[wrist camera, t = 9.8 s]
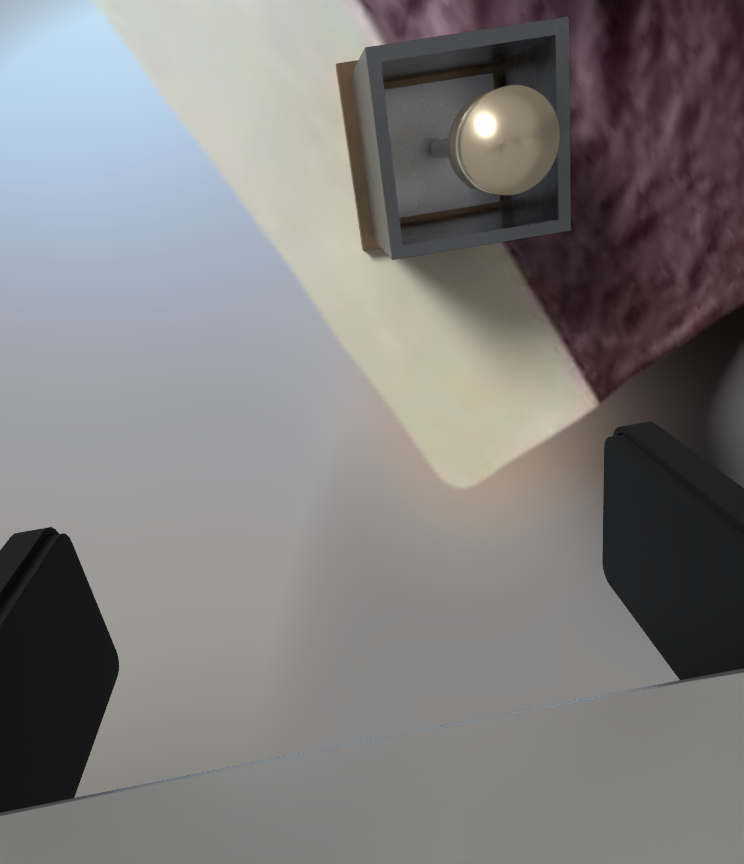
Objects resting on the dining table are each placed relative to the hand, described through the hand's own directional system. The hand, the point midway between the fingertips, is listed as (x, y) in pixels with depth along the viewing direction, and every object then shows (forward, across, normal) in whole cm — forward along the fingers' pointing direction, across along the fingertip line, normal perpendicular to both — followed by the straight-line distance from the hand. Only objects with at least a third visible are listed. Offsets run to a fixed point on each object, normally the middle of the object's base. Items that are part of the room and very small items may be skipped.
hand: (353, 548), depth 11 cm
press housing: (+38, -10, -6) cm, 40 cm away
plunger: (+37, -10, -6) cm, 39 cm away
